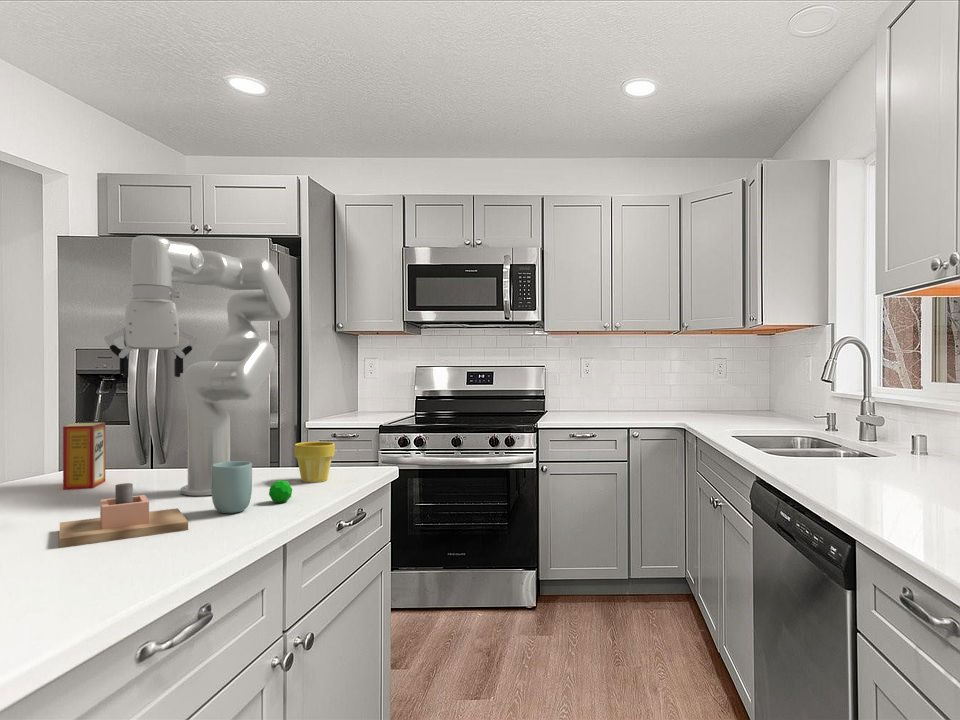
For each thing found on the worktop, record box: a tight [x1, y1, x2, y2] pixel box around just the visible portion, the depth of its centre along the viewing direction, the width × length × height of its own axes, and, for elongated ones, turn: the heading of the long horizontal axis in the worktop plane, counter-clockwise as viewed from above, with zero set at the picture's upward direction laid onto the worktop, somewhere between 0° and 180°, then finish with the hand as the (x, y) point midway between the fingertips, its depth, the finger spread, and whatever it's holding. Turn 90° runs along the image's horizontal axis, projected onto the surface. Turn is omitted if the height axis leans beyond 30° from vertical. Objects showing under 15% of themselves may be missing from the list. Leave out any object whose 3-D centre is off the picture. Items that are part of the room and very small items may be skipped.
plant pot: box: [293, 441, 336, 483], centre depth 165 cm, size 10×10×10 cm
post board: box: [58, 482, 189, 548], centre depth 116 cm, size 20×13×8 cm, turn 124°
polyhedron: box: [268, 479, 293, 504], centre depth 139 cm, size 5×5×5 cm
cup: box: [211, 460, 253, 515], centre depth 130 cm, size 8×8×10 cm
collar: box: [99, 494, 150, 529], centre depth 116 cm, size 7×7×4 cm
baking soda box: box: [62, 421, 106, 491], centre depth 159 cm, size 10×6×16 cm
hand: (152, 377), depth 130 cm, fingers open, 9 cm apart
